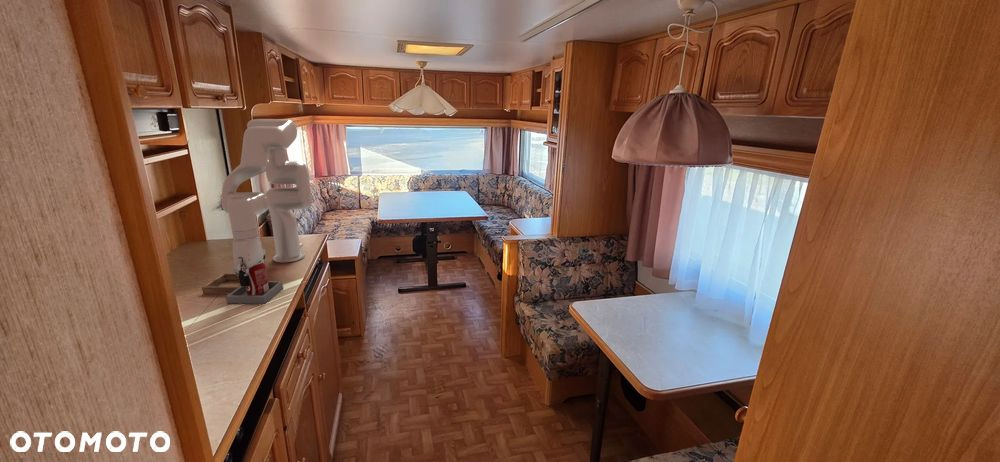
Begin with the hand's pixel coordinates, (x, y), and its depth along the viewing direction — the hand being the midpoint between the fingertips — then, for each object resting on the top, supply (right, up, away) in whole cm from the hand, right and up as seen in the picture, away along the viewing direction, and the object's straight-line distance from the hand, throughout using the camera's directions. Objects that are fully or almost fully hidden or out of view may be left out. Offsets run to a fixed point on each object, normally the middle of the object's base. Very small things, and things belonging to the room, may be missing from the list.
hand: (253, 280), depth 141 cm
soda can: (0, -5, +3) cm, 6 cm away
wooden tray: (-14, -3, +9) cm, 17 cm away
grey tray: (0, -6, +2) cm, 6 cm away
